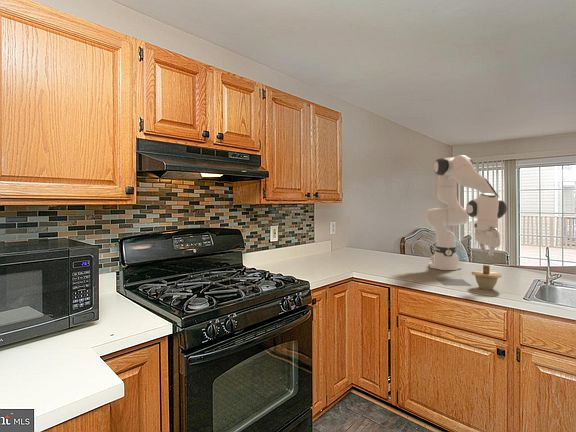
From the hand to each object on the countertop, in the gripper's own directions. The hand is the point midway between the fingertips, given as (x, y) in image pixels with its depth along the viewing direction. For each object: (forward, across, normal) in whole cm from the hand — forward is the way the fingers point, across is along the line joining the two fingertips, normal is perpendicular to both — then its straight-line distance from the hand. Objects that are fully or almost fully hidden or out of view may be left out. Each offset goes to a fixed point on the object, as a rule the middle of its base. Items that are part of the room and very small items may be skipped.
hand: (486, 253), depth 171 cm
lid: (+11, 0, 0) cm, 11 cm away
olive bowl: (+18, -1, 0) cm, 18 cm away
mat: (+18, +10, +12) cm, 24 cm away
